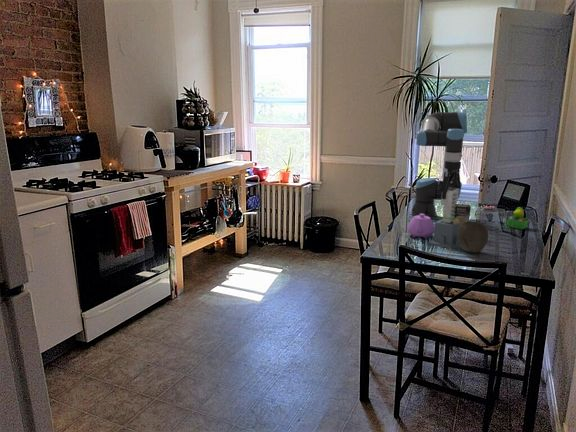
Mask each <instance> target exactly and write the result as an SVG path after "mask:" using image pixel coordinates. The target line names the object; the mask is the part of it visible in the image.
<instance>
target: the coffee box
mask: <svg viewBox="0 0 576 432" xmlns="http://www.w3.org/2000/svg"><path fill="white" fill-rule="evenodd" d="M455 205H456V207H455V208H454V209H456V211H454V213H455V215H454V217H455V219H458V220H459V222H460V227H461V225H462V224H464V223H465V222H468V221H470V219H471V218H470V216H471V209H472V207H471V205H470V204H461V203H460V204H459V203H456V204H455ZM455 219H453V221H454V220H455Z"/></svg>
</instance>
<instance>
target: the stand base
mask: <svg viewBox="0 0 576 432" xmlns="http://www.w3.org/2000/svg"><path fill="white" fill-rule="evenodd" d="M442 221H443V218H442V219H439V220H437V221H435V222H434V227H435V229H434V233H433V239H431V240H430V241H428V242H427V243H428V245H429V246H430V245H431V246H436V247H440V246H441V247H440V248H445V247H446V249H449V248H451V250H452V249H454V248H455V247H457V246H458V245H460V244H459V241H458V230H459V228H460V222H459V220H458V219H455V220H454V221H453V224H446V223H442ZM453 247H454V248H453Z"/></svg>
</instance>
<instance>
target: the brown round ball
mask: <svg viewBox="0 0 576 432" xmlns="http://www.w3.org/2000/svg"><path fill="white" fill-rule="evenodd" d="M488 231H489V230H488V229H487V226H486V225H485V224H484V223H482V222H479V221H475V220H473V221H472V220H471V221H470V220H469V221H468V222H465V223H464V224H462V225H461V227H460V228H459V230H458V241H459V244H458V245H459V246H460V247H461V248H462V249H463V250H464V251H465V252H467V253H471V254H478V253H480V252H481V251H482V250H484V248H485V247H486V245H487V244H488V240H489V232H488Z"/></svg>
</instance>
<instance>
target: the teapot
mask: <svg viewBox="0 0 576 432" xmlns="http://www.w3.org/2000/svg"><path fill="white" fill-rule="evenodd" d="M434 229H435V223H434V221H433V220H432V217H431V218H430V217H428V216H425V214H419V215H417V216H413V217H412V219H410V221H409V223H408V225H407V231H408V233H409V234H410V235H411V236H412V238H418V237H420V238H421V237H423V238H424V239H429V237H431V236H432V235H434Z"/></svg>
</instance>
